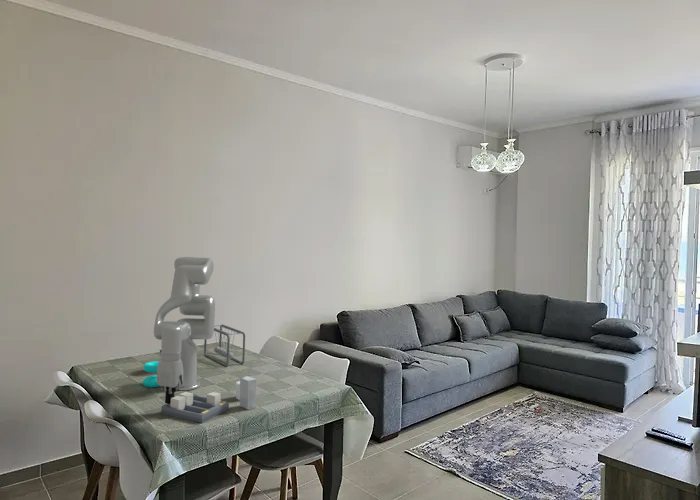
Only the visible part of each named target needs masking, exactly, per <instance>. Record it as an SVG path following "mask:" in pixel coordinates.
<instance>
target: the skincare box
mask: <svg viewBox="0 0 700 500" xmlns="http://www.w3.org/2000/svg"><path fill="white" fill-rule="evenodd" d="M239 381H240V400H239V406H240V407H242V408H243V409H246V410H253V409H256V407H257V379H256V378H254V377H251V376H248V375H247V376H243V377H239Z"/></svg>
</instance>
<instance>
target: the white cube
mask: <svg viewBox="0 0 700 500" xmlns="http://www.w3.org/2000/svg"><path fill="white" fill-rule="evenodd" d="M171 407H172V408H176V409H181V410H183V409H185V397H181V396H179V395H174V397H173V398H171Z"/></svg>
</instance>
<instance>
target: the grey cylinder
mask: <svg viewBox="0 0 700 500" xmlns="http://www.w3.org/2000/svg"><path fill="white" fill-rule="evenodd" d="M235 398H236V400H237V399H238V401H240V380H237V381H236V382H235Z"/></svg>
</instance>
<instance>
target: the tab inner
mask: <svg viewBox="0 0 700 500" xmlns="http://www.w3.org/2000/svg"><path fill="white" fill-rule="evenodd" d="M221 396H222V394H221V393H220V392H215V391H213V392H209V393H207V394H206V398H207V403H209V404H214V405H218V404H220V402H221V401H222V400H221Z"/></svg>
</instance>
